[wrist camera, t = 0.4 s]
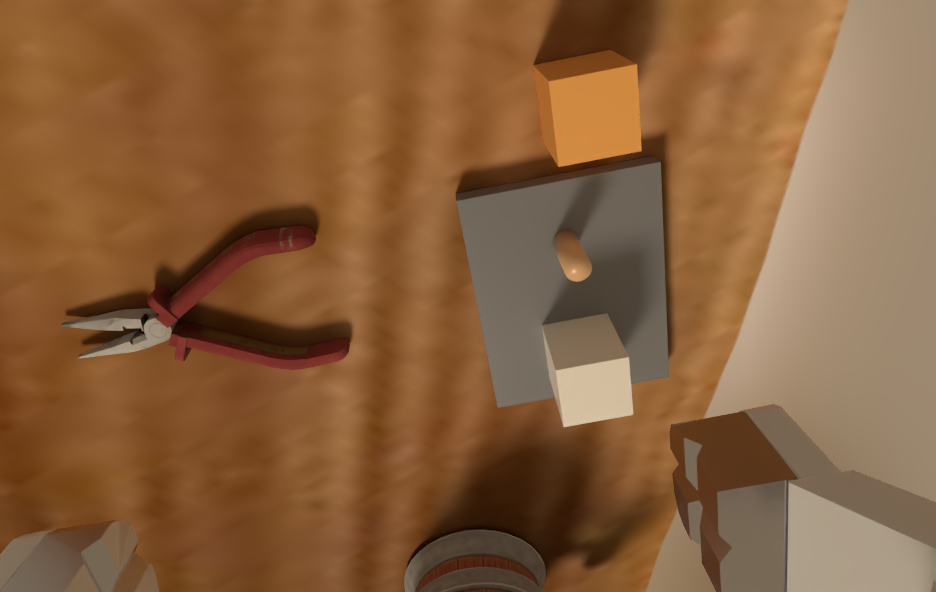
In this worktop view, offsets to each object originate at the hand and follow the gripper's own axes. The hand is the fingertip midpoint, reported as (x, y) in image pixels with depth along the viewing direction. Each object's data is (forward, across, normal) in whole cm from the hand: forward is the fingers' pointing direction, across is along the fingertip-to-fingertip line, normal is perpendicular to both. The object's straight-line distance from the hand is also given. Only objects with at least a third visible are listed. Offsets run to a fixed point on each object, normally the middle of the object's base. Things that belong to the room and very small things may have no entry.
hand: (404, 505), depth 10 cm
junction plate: (+38, -8, +13) cm, 41 cm away
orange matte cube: (+36, -10, -1) cm, 38 cm away
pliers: (+38, +18, +8) cm, 43 cm away
